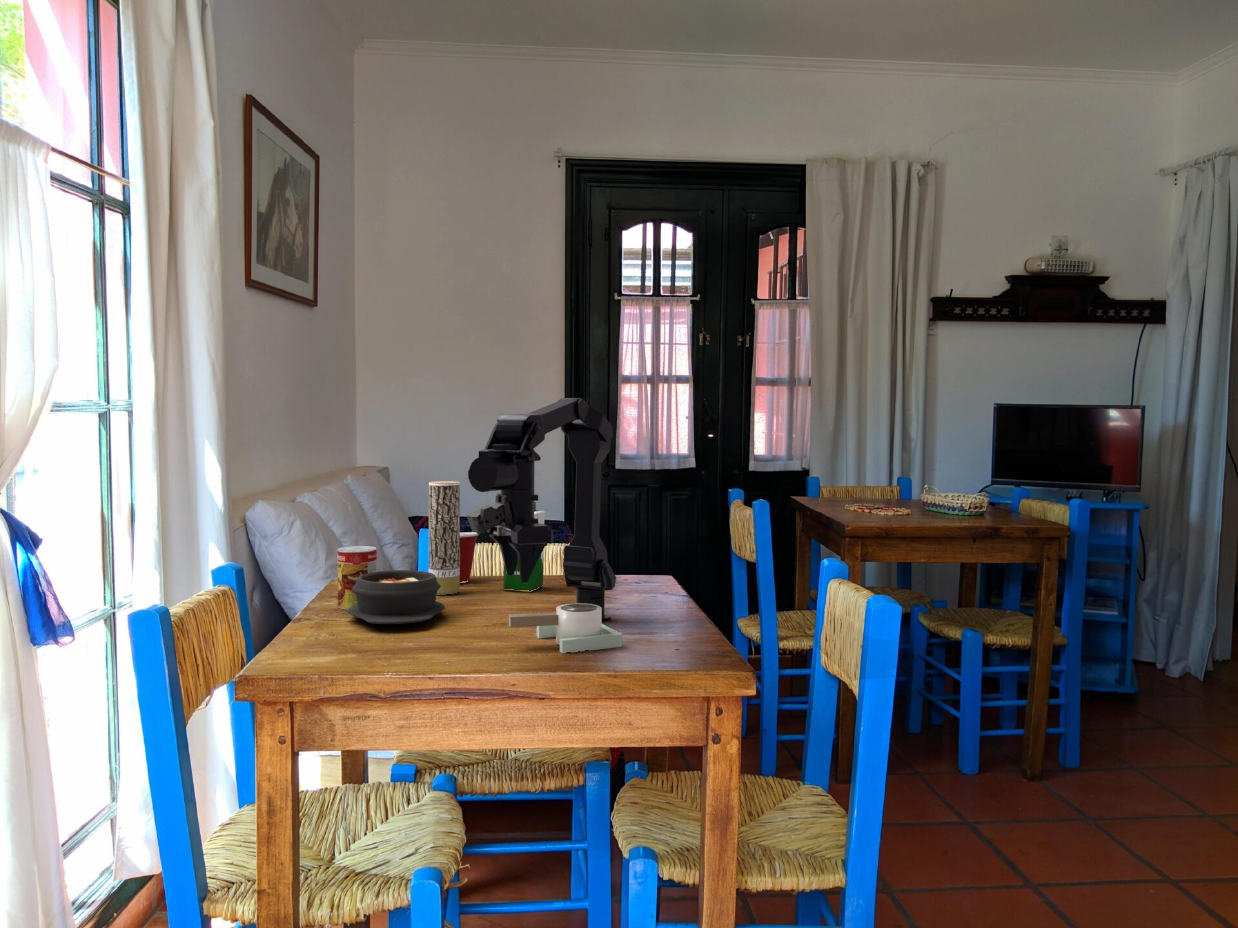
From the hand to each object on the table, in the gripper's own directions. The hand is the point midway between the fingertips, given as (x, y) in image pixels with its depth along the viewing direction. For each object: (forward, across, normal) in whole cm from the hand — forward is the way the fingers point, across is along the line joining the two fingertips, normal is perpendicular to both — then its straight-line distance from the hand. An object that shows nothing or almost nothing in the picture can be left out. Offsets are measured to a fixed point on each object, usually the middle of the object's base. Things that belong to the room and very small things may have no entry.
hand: (517, 578), depth 153 cm
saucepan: (+12, 0, +7) cm, 14 cm away
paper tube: (+12, -52, +1) cm, 53 cm away
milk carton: (+12, -50, +19) cm, 55 cm away
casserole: (+12, -31, -14) cm, 36 cm away
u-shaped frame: (+12, 0, +11) cm, 16 cm away
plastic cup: (+12, -64, +7) cm, 65 cm away
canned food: (+12, -46, -19) cm, 51 cm away
